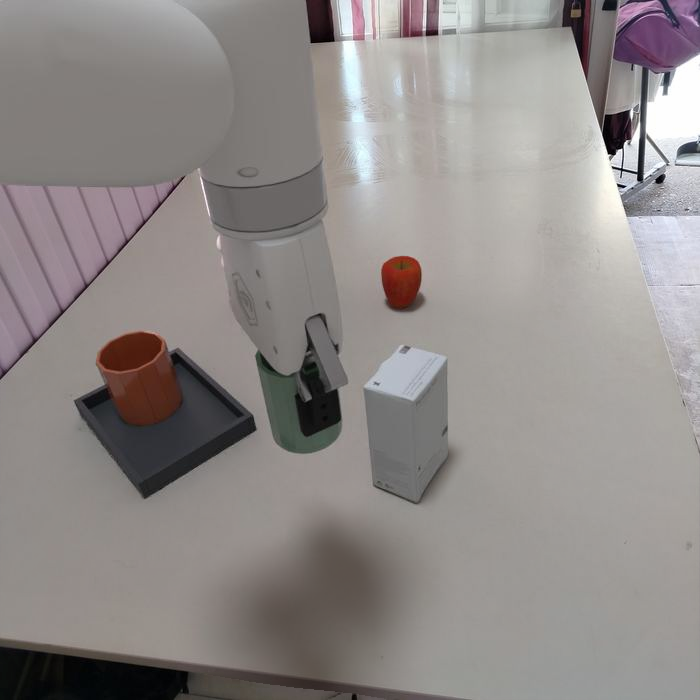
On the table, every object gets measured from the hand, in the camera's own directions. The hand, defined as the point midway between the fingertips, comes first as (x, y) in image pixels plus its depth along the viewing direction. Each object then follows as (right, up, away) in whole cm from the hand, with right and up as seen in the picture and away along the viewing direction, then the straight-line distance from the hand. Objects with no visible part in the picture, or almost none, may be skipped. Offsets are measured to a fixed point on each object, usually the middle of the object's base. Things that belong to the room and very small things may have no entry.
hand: (302, 401), depth 51 cm
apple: (+12, +11, +49) cm, 52 cm away
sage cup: (0, -2, +2) cm, 3 cm away
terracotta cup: (-23, -3, +34) cm, 41 cm away
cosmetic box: (+11, -10, +23) cm, 27 cm away
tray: (-20, -5, +32) cm, 38 cm away
